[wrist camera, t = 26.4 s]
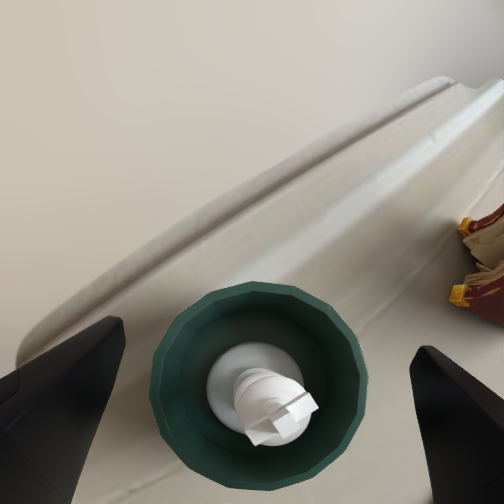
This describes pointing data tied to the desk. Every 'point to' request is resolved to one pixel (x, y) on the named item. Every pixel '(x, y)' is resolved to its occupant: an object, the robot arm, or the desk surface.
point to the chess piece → (260, 393)
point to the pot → (276, 333)
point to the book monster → (490, 277)
